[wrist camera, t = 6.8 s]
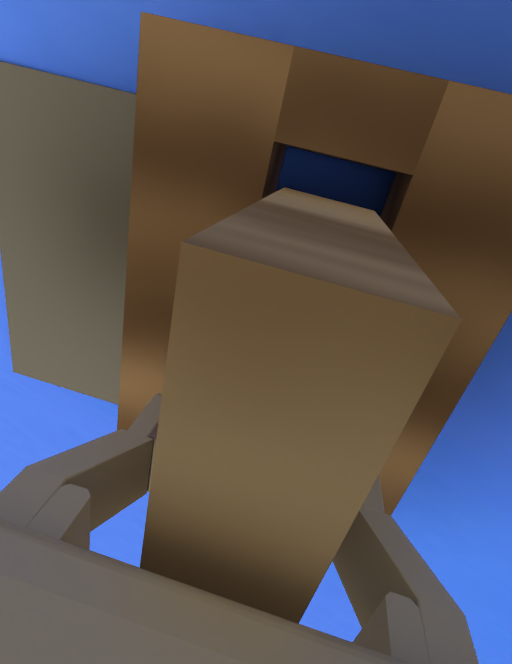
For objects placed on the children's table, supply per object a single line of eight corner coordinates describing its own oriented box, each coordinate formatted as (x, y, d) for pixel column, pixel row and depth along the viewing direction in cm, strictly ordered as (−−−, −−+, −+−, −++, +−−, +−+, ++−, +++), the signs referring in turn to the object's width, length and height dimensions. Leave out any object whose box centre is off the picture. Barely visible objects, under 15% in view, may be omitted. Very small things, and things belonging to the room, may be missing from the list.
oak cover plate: (284, 187, 12) (182, 241, 4) (374, 210, 12) (461, 319, 4) (220, 450, 17) (122, 699, 9) (281, 470, 17) (234, 741, 9)
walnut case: (184, 45, 14) (141, 11, 11) (555, 130, 13) (625, 119, 10) (144, 431, 23) (114, 474, 20) (361, 500, 22) (366, 556, 19)
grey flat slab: (-10, 59, 16) (-20, 56, 15) (143, 96, 15) (137, 94, 15) (19, 367, 23) (13, 371, 22) (123, 400, 22) (119, 405, 22)
